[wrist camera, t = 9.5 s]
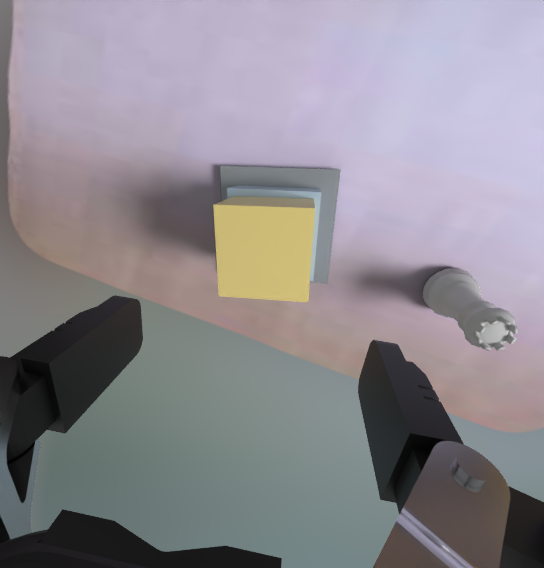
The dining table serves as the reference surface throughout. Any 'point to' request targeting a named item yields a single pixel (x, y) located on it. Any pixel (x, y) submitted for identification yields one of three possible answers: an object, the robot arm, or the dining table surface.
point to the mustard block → (264, 247)
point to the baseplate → (298, 180)
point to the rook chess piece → (469, 309)
